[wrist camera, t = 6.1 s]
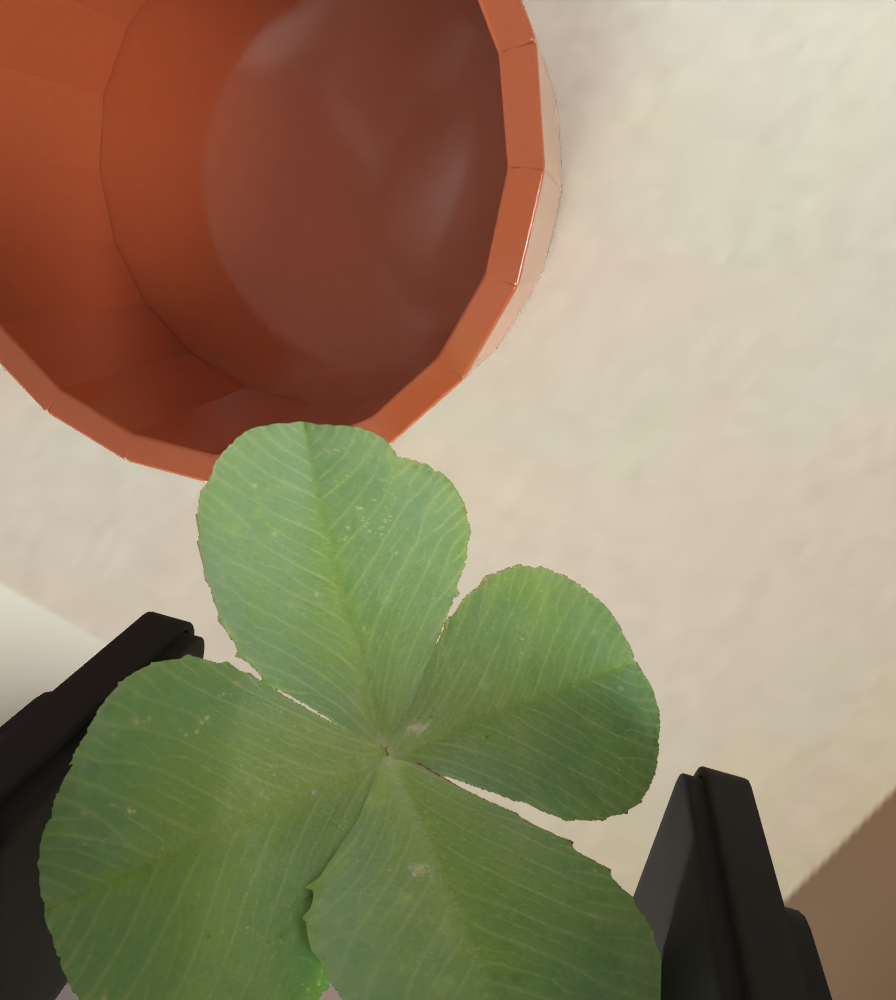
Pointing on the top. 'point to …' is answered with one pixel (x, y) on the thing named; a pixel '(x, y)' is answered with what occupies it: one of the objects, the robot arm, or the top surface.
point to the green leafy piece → (356, 762)
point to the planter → (265, 211)
